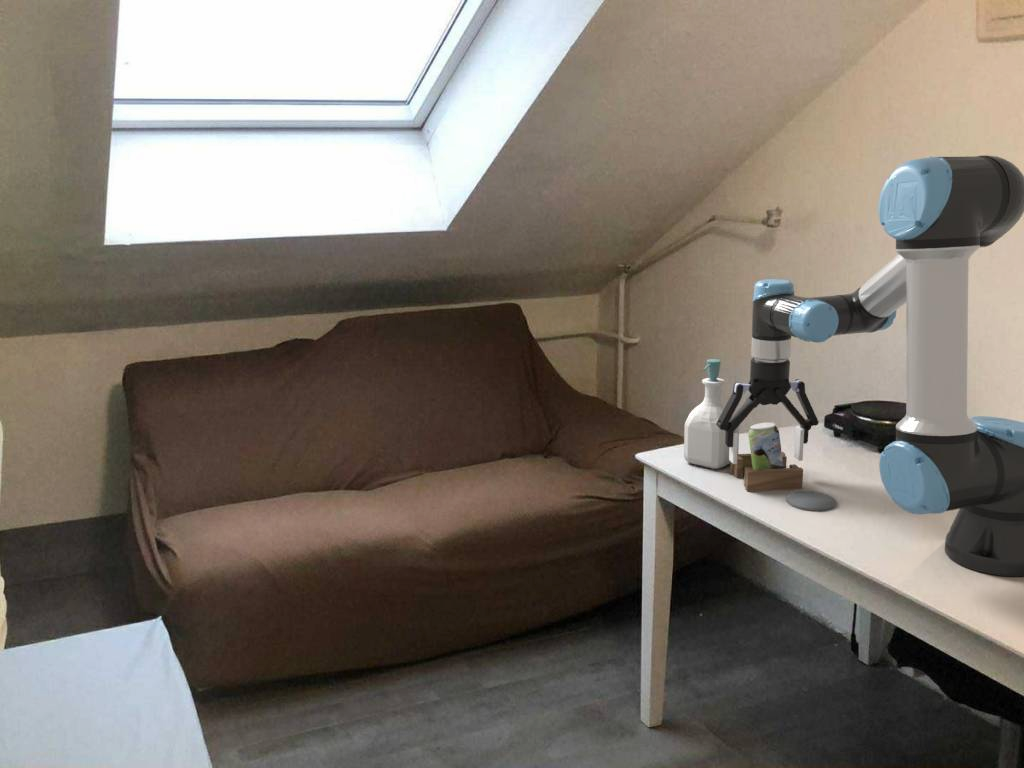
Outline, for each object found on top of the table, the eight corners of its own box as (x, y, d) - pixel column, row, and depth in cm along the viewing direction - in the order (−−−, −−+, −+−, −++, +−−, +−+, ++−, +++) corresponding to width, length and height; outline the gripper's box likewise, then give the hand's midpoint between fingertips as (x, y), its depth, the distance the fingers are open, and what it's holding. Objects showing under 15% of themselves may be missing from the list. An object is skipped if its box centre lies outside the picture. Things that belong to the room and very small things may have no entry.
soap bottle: (679, 463, 207) (681, 360, 202) (703, 452, 214) (705, 352, 209) (719, 472, 201) (722, 367, 195) (742, 461, 208) (745, 358, 202)
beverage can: (784, 486, 192) (787, 429, 189) (747, 484, 194) (749, 428, 191) (782, 476, 198) (785, 420, 195) (746, 474, 200) (748, 419, 197)
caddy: (802, 488, 191) (803, 469, 190) (747, 491, 190) (747, 472, 189) (782, 470, 202) (783, 451, 201) (730, 472, 201) (730, 454, 200)
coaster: (843, 509, 180) (843, 506, 179) (796, 512, 179) (797, 509, 179) (824, 492, 188) (824, 489, 188) (779, 495, 188) (780, 492, 187)
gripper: (824, 351, 194) (818, 451, 199) (703, 356, 192) (700, 457, 198) (839, 360, 187) (832, 463, 192) (713, 365, 185) (710, 469, 190)
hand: (765, 460), depth 195 cm, fingers open, 13 cm apart
